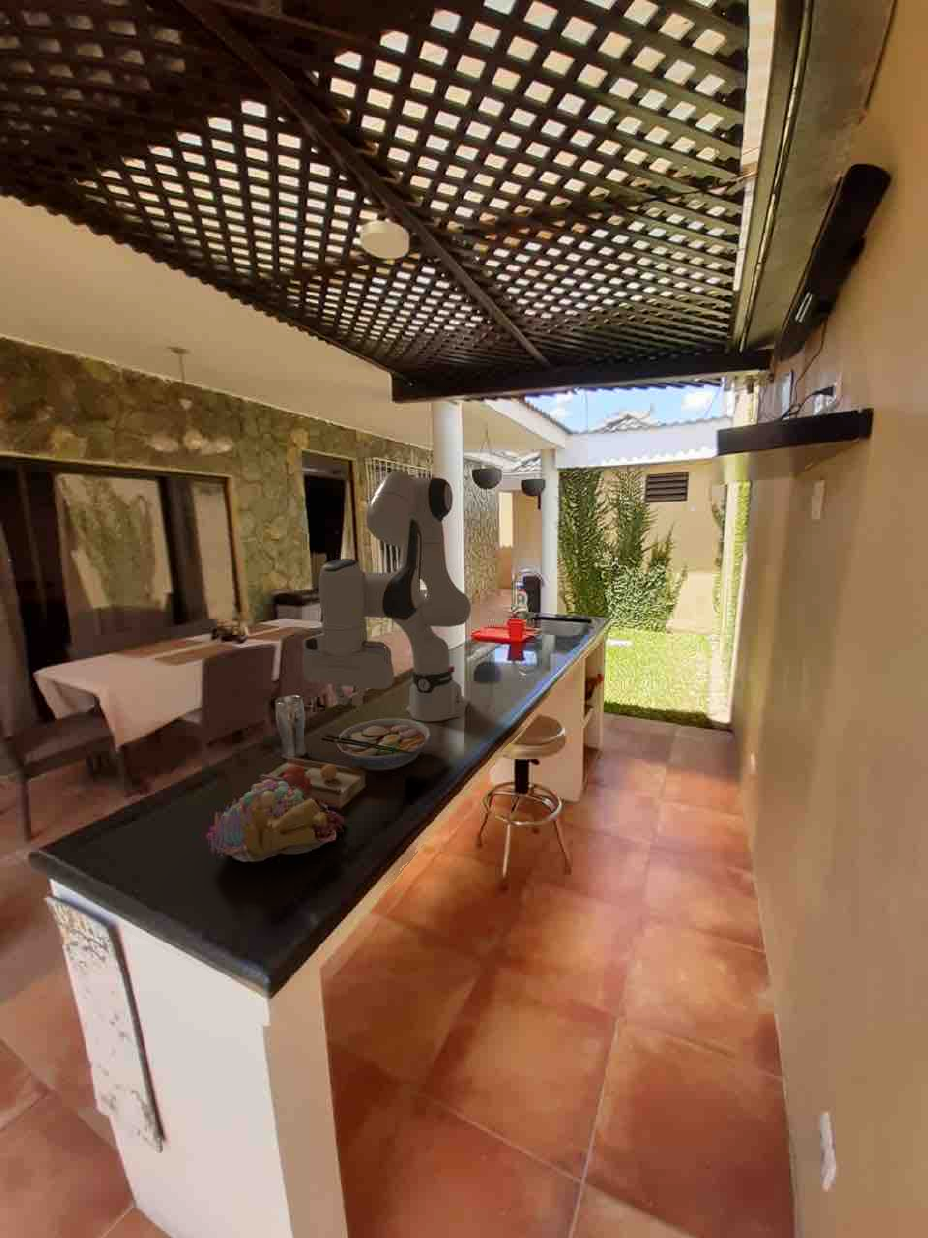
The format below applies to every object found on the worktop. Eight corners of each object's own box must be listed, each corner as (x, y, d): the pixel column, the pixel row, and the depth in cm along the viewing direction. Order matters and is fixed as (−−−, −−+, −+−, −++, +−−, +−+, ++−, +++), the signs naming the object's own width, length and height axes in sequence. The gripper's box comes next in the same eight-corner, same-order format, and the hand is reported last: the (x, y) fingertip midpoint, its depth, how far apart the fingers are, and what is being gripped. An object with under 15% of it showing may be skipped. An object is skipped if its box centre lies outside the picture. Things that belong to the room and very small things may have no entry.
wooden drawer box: (290, 772, 118) (289, 756, 117) (365, 786, 110) (364, 769, 109) (261, 792, 109) (259, 775, 108) (340, 808, 101) (338, 791, 101)
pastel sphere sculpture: (365, 838, 91) (369, 790, 90) (233, 883, 74) (237, 823, 74) (303, 792, 108) (306, 751, 108) (185, 820, 92) (188, 772, 92)
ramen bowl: (451, 752, 126) (450, 722, 124) (404, 796, 105) (402, 761, 104) (371, 738, 136) (369, 710, 135) (314, 775, 116) (311, 743, 114)
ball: (327, 775, 110) (326, 760, 109) (340, 777, 108) (339, 762, 108) (317, 782, 106) (316, 767, 106) (331, 785, 105) (329, 770, 104)
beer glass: (286, 763, 122) (280, 706, 120) (275, 754, 128) (270, 699, 125) (312, 754, 127) (307, 699, 124) (301, 746, 132) (296, 693, 129)
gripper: (398, 639, 98) (401, 704, 101) (314, 634, 106) (320, 695, 108) (381, 646, 92) (386, 715, 95) (295, 641, 100) (301, 705, 102)
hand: (350, 704), depth 102 cm, fingers open, 2 cm apart
